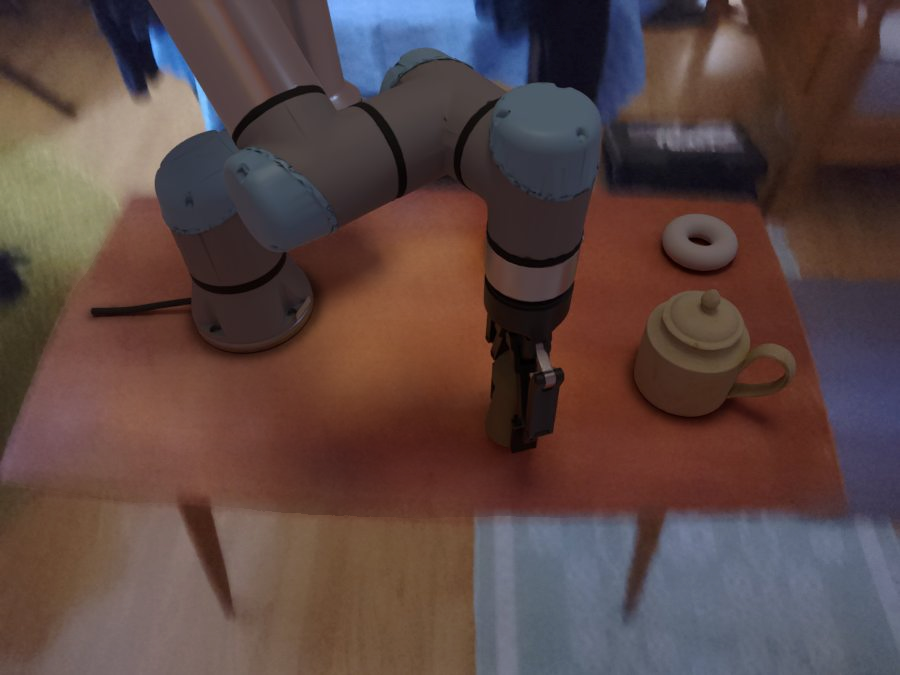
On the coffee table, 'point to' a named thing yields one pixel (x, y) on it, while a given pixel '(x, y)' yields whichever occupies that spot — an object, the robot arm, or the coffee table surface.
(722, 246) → the donut
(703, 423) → the coffee table surface
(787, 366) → the sugar bowl
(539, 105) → the robot arm
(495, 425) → the brown pawn
